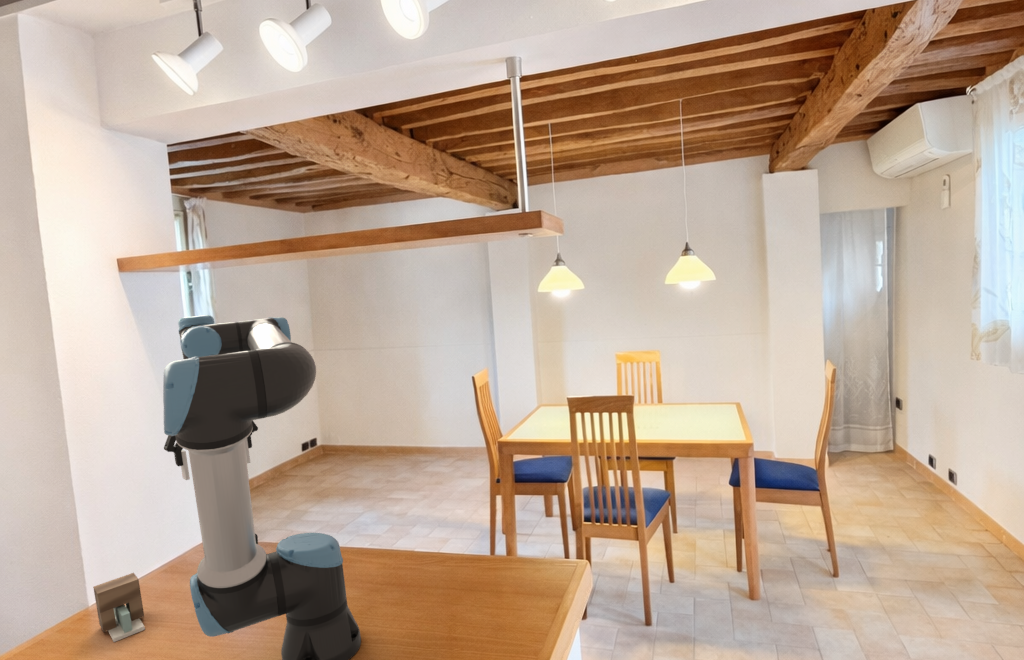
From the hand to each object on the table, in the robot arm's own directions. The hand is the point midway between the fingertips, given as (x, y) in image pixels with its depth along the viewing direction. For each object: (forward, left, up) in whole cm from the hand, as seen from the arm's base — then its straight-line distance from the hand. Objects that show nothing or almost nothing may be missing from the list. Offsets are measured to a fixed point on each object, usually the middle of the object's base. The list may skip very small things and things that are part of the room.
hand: (217, 470), depth 145 cm
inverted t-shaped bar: (+10, +22, -32) cm, 40 cm away
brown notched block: (+10, +22, -31) cm, 39 cm away
